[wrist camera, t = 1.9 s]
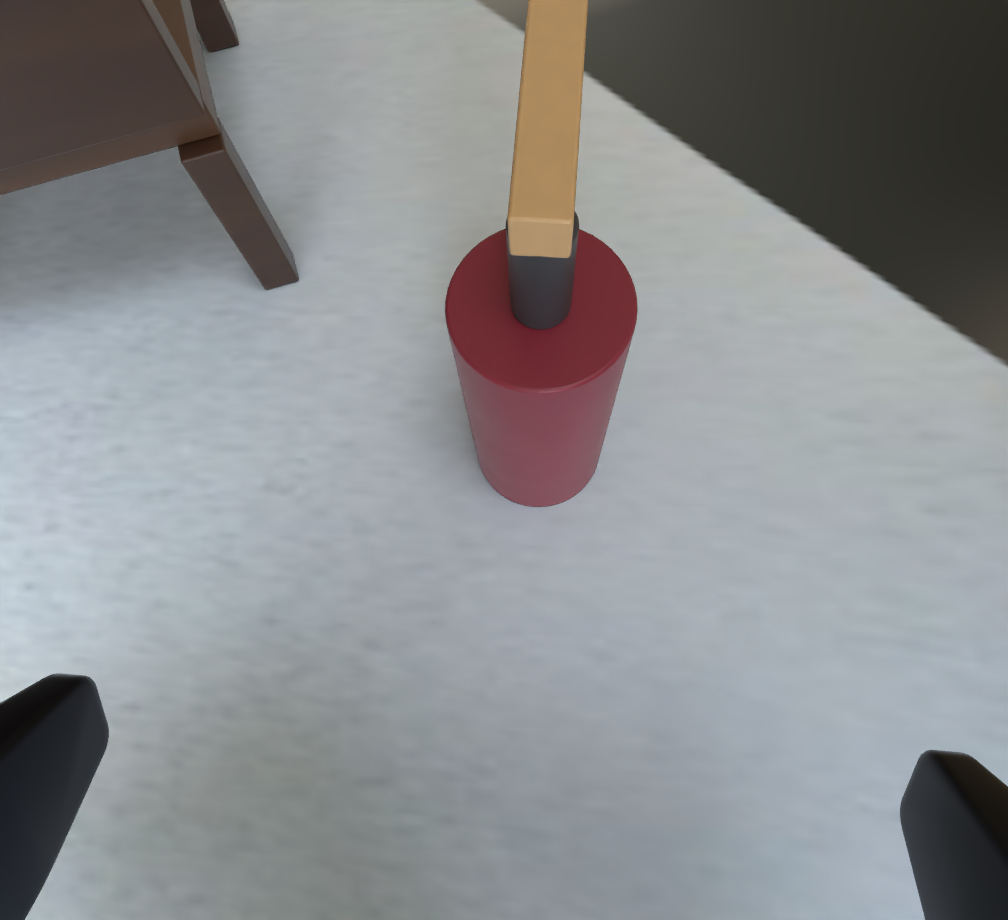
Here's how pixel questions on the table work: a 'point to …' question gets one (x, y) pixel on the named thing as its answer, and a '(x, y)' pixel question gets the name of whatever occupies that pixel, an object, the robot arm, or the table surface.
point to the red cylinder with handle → (542, 293)
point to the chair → (127, 105)
